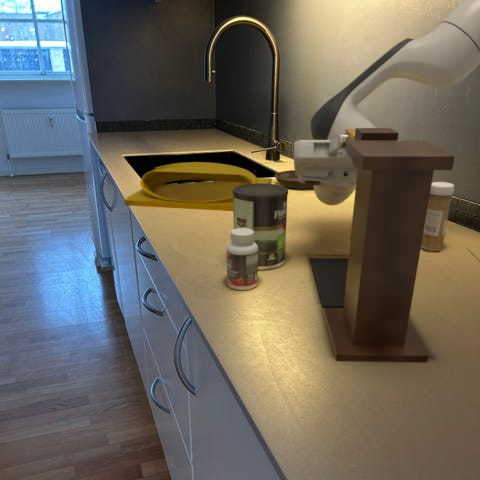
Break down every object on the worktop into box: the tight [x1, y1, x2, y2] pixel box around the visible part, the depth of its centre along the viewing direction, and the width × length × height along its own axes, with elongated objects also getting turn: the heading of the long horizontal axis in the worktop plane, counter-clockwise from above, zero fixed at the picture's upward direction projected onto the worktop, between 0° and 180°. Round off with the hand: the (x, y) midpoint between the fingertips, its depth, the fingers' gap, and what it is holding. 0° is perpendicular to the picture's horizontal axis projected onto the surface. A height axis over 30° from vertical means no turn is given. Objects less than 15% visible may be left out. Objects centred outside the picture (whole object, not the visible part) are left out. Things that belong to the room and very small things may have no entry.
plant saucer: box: [274, 169, 314, 190], centre depth 160 cm, size 18×18×3 cm
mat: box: [309, 257, 349, 309], centre depth 91 cm, size 12×22×1 cm, turn 178°
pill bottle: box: [226, 228, 259, 291], centre depth 88 cm, size 5×5×10 cm
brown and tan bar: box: [345, 127, 400, 169], centre depth 80 cm, size 5×20×5 cm, turn 178°
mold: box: [124, 161, 272, 212], centre depth 149 cm, size 35×35×9 cm
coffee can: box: [232, 183, 289, 271], centre depth 97 cm, size 10×10×14 cm
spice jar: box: [421, 181, 455, 252], centre depth 104 cm, size 5×5×13 cm
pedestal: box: [323, 139, 456, 363], centre depth 68 cm, size 12×14×26 cm
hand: (357, 138), depth 85 cm, fingers closed on brown and tan bar, 3 cm apart
